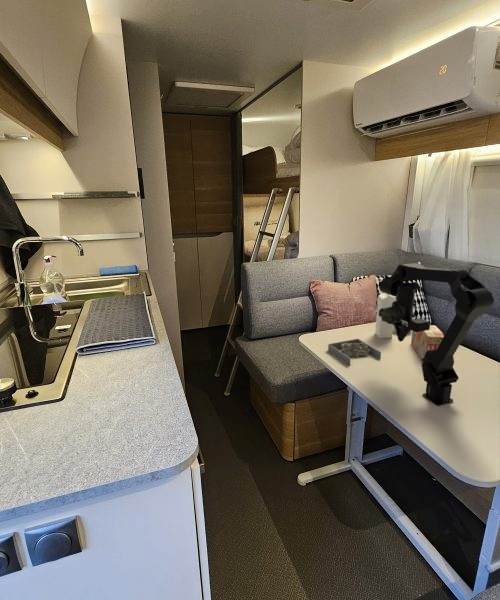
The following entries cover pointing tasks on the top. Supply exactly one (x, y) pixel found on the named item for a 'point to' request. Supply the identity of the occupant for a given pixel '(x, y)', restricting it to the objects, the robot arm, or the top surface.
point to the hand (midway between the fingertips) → (400, 341)
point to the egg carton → (355, 349)
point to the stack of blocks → (426, 340)
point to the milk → (381, 326)
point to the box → (334, 350)
